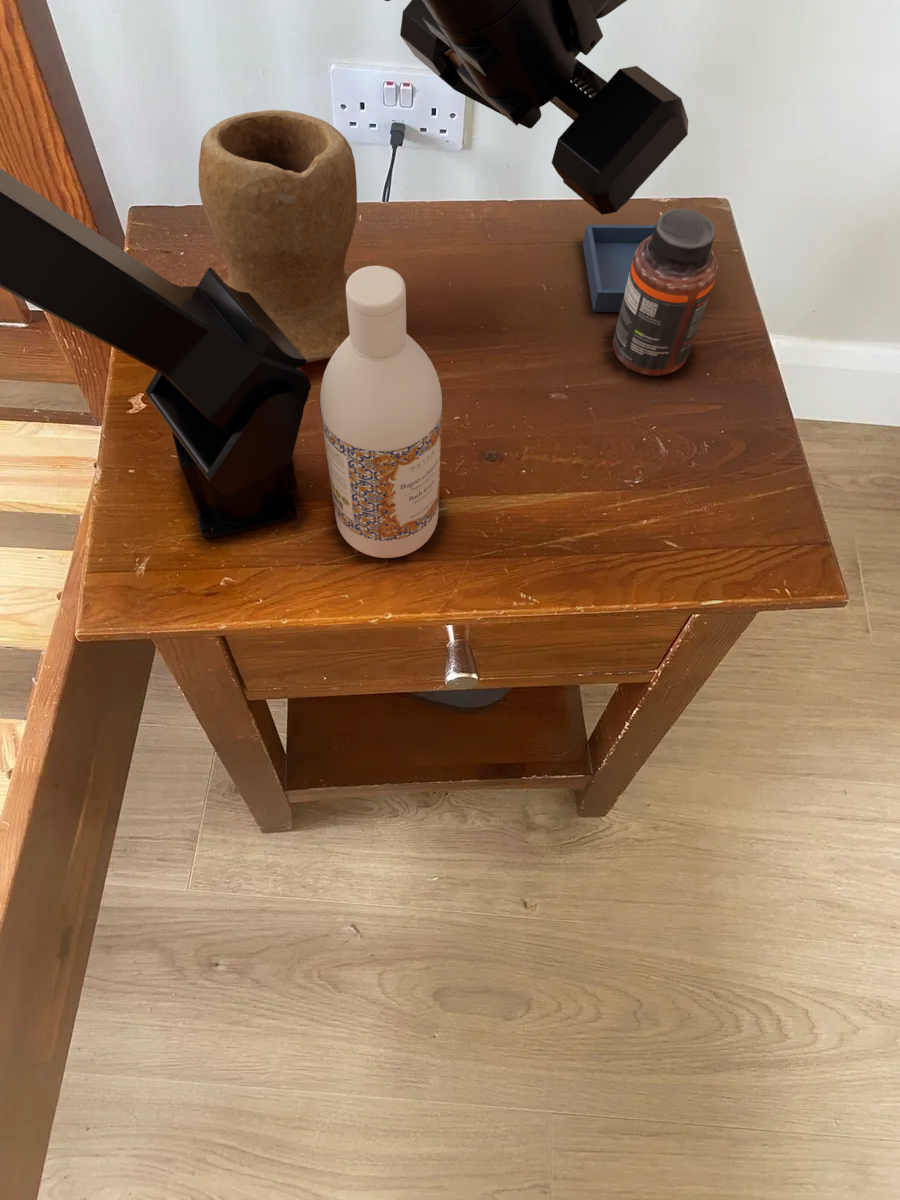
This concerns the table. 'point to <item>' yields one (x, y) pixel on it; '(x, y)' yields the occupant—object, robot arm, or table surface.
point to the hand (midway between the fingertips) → (579, 158)
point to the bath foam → (382, 423)
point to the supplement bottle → (666, 293)
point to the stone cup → (284, 219)
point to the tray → (611, 261)
